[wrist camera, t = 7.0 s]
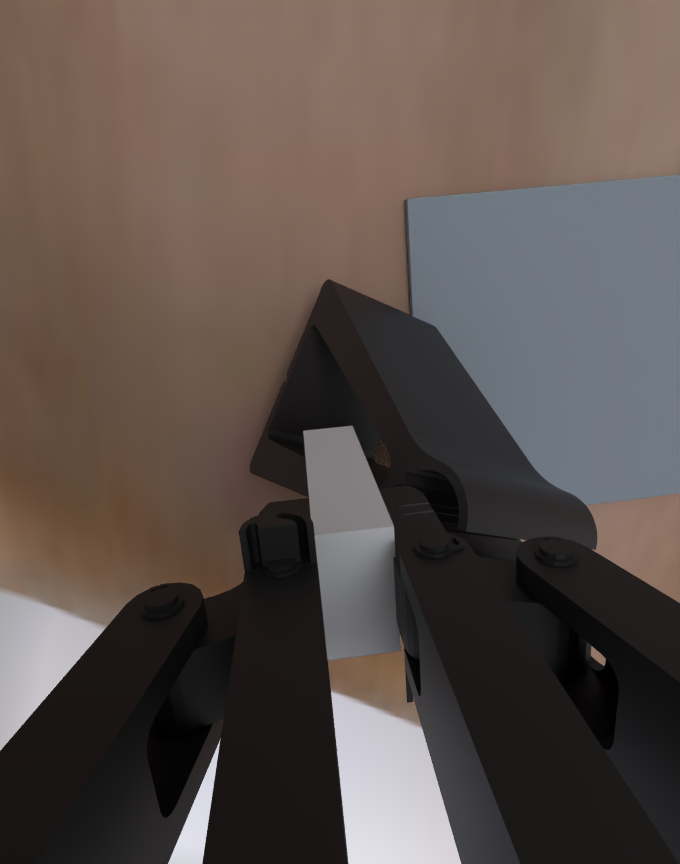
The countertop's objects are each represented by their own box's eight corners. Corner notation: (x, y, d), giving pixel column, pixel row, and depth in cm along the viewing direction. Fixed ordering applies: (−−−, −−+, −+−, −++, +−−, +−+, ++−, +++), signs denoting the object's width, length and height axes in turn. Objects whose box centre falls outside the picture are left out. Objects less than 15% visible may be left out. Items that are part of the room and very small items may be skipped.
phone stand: (352, 487, 27) (517, 672, 17) (247, 468, 24) (379, 684, 14) (430, 324, 25) (669, 435, 15) (326, 276, 21) (548, 381, 12)
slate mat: (420, 521, 28) (422, 525, 28) (405, 200, 23) (407, 198, 23) (770, 477, 29) (777, 480, 29) (824, 162, 25) (835, 160, 24)
